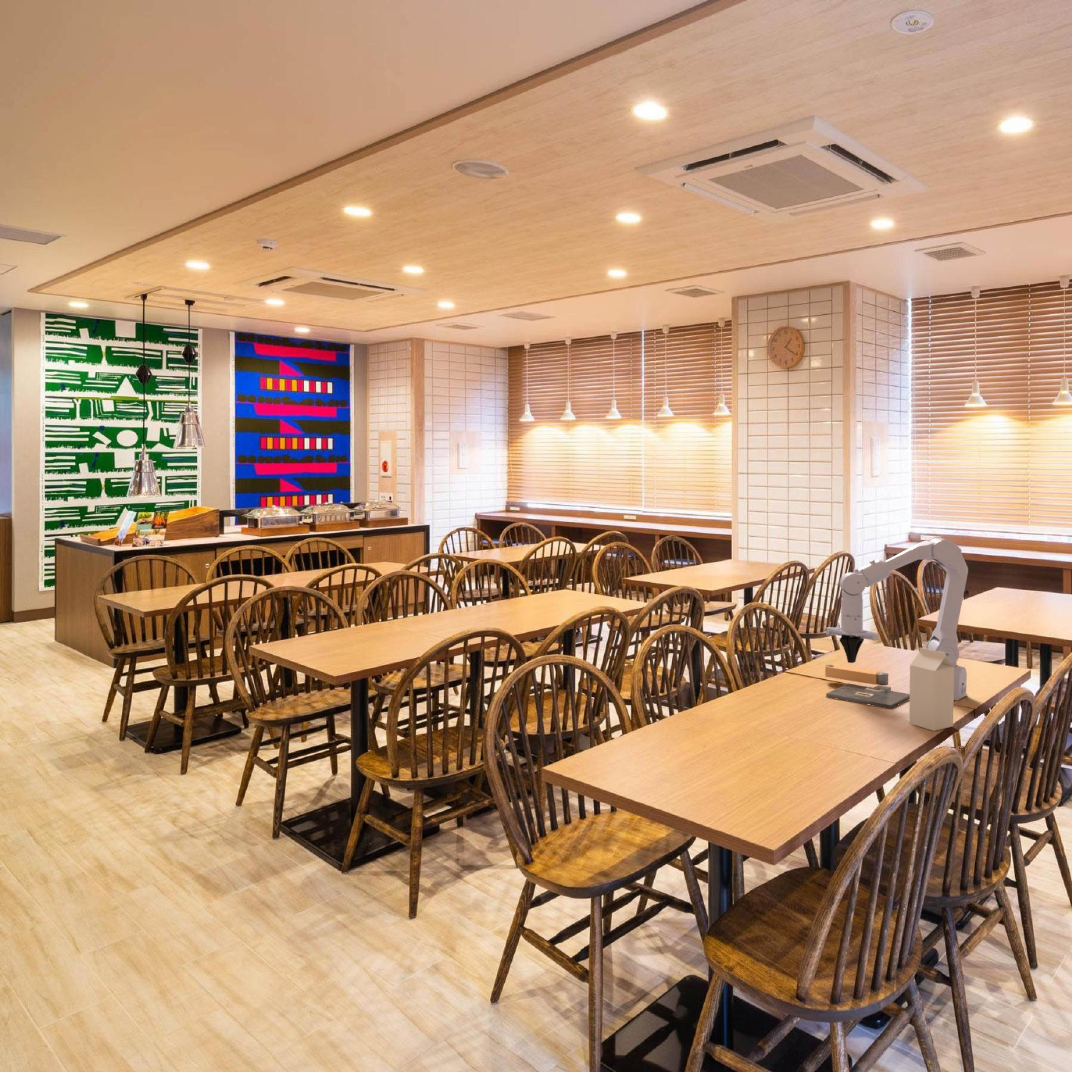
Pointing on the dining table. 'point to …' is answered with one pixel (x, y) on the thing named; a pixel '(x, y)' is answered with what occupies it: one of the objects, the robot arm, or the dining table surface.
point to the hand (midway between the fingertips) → (851, 662)
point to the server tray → (869, 695)
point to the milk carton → (931, 690)
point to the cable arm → (856, 674)
